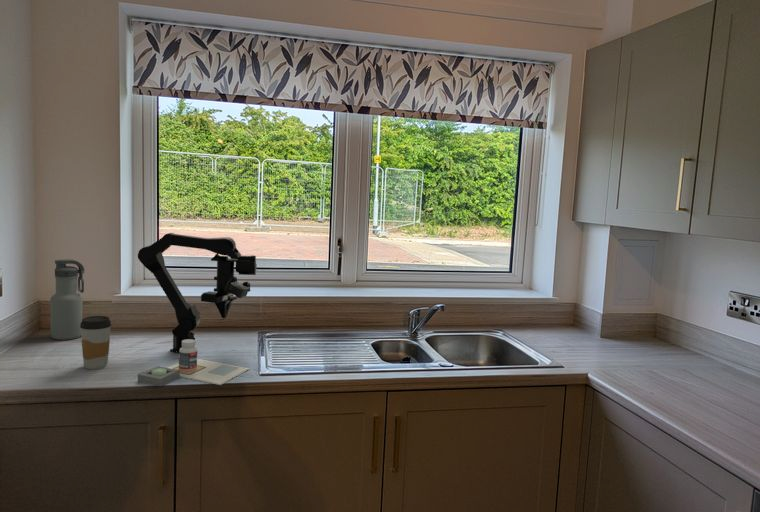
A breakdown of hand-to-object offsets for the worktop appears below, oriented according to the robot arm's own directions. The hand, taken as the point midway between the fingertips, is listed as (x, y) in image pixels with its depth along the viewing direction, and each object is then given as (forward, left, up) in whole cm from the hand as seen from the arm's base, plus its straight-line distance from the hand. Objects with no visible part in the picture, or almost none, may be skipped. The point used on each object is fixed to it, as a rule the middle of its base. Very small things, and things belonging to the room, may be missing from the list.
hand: (224, 318), depth 176 cm
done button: (0, -31, -13) cm, 33 cm away
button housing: (0, -31, -12) cm, 33 cm away
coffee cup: (-24, -31, -12) cm, 41 cm away
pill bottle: (+2, -21, -12) cm, 24 cm away
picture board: (+7, -19, -12) cm, 24 cm away
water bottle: (-57, -13, -12) cm, 60 cm away
